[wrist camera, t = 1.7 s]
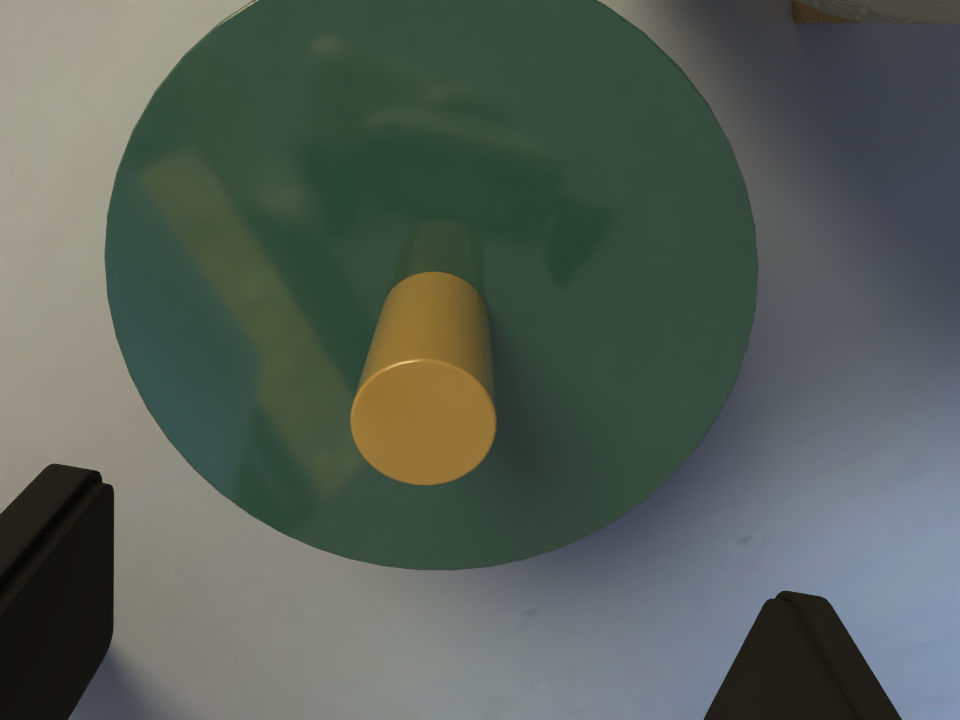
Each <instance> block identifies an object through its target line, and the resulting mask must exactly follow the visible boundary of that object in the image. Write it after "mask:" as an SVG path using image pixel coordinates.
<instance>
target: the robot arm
mask: <svg viewBox="0 0 960 720" xmlns="http://www.w3.org/2000/svg"><path fill="white" fill-rule="evenodd" d="M113 609H114V490H113V487H112V485H110V484H105V483H102V477H101V475H100V472H98V471H95V470H89V469H83V468H78V467H72V466H66V465H60V464H51V465H49V466H47V467H46V468H45V469H44V470H43V471H42V472H41V473H40V474H39V475H38V476H37V477H36V478H35V479H34V480H33V481H32V482H31V483H30V484H29V485H28V486H27V487H26V488H25V489H24V490H23V491H22V492H21V494H20V495H19V496H18V497H17V498H16V499H15V500H14V501H13V502H12V503H11V504H10V505H9V506H8V507H7V508H6V509H5V510H4V511H3V512H2V513H1V514H0V720H68V719H69V717H70V715H71V714H72V712H73V710H74V709H75V707H76V705H77V703H78V702H79V700H80V698H81V697H82V695H83V693H84V691H85V690H86V688H87V686H88V685H89V683H90V681H91V679H92V678H93V676H94V674H95V673H96V671H97V669H98V667H99V666H100V664H101V662H102V661H103V659H104V657H105V655H106V653H107V651H108V648H109V646H110V642H111V639H112V635H113ZM704 720H902V719H901V717H900V716H899V714H898V713H897V711H896V709H895V708H894V706H893V704H892V703H891V701H890V700H889V698H888V696H887V695H886V693H885V691H884V690H883V688H882V687H881V685H880V683H879V682H878V680H877V678H876V677H875V675H874V674H873V672H872V670H871V669H870V667H869V665H868V664H867V662H866V661H865V659H864V657H863V656H862V654H861V652H860V651H859V649H858V648H857V646H856V644H855V643H854V641H853V640H852V638H851V636H850V635H849V633H848V631H847V630H846V628H845V627H844V625H843V623H842V622H841V620H840V618H839V617H838V615H837V614H836V612H835V610H834V609H833V607H832V605H831V604H830V603H829V602H828V601H827V600H826V599H825V598H823V597H820V596H814V595H808V594H803V593H797V592H791V591H782V592H780V593H779V594H778V595H777V596H776V597H775V599H769V600H767V601H766V602H765V604H764V605H763V607H762V609H761V611H760V613H759V615H758V616H757V618H756V620H755V622H754V624H753V626H752V628H751V630H750V632H749V634H748V636H747V637H746V639H745V641H744V643H743V645H742V647H741V649H740V651H739V653H738V655H737V656H736V658H735V660H734V662H733V664H732V666H731V668H730V670H729V672H728V674H727V675H726V677H725V679H724V681H723V683H722V685H721V687H720V689H719V691H718V693H717V694H716V696H715V698H714V700H713V702H712V704H711V706H710V708H709V710H708V712H707V714H706V715H705V717H704Z"/></svg>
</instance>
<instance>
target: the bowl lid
mask: <svg viewBox="0 0 960 720" xmlns="http://www.w3.org/2000/svg"><path fill="white" fill-rule="evenodd" d="M105 269H106V283H107V296H108V302H109V306H110V311H111V316H112V320H113V325H114V329H115V334H116V338H117V341H118V344H119V346H120V349H121V352H122V355H123V357H124V360H125V363H126V366H127V368H128V371H129V374H130V376H131V378H132V380H133V382H134V384H135V386H136V388H137V390H138V392H139V393H140V395H141V397H142V399H143V401H144V403H145V405H146V407H147V409H148V410H149V412H150V413H151V415H152V416H153V418H154V419H155V421H156V422H157V424H158V425H159V427H160V428H161V430H162V431H163V432H164V434H165V435H166V437H167V438H168V440H169V441H170V442H171V443H172V444H173V446H174V447H175V448H176V449H177V450H178V451H179V452H180V454H181V455H182V456H183V457H184V458H185V459H186V461H187V462H188V463H189V464H190V465H191V466H192V467H193V469H195V470H196V471H197V472H198V473H199V474H200V475H201V476H202V477H203V478H204V479H205V480H207V481H208V482H209V483H210V484H211V485H212V486H213V487H214V488H215V489H216V490H218V491H219V492H220V493H221V494H222V495H224V496H225V497H226V498H228V499H229V500H230V501H232V502H233V503H235V504H236V505H237V506H239V507H240V508H241V509H243V510H244V511H246V512H247V513H248V514H250V515H251V516H253V517H255V518H256V519H258V520H260V521H262V522H263V523H265V524H267V525H269V526H270V527H272V528H274V529H276V530H277V531H279V532H281V533H283V534H285V535H287V536H289V537H292V538H294V539H296V540H299V541H301V542H303V543H305V544H308V545H310V546H312V547H314V548H317V549H320V550H323V551H327V552H330V553H333V554H336V555H339V556H342V557H345V558H348V559H353V560H357V561H362V562H367V563H371V564H376V565H381V566H387V567H396V568H405V569H415V570H461V569H472V568H482V567H491V566H496V565H501V564H506V563H511V562H516V561H521V560H525V559H528V558H531V557H534V556H538V555H541V554H544V553H547V552H551V551H554V550H557V549H559V548H561V547H564V546H566V545H568V544H571V543H573V542H575V541H578V540H580V539H582V538H585V537H587V536H589V535H591V534H593V533H594V532H596V531H598V530H600V529H601V528H603V527H605V526H607V525H609V524H610V523H612V522H614V521H616V520H617V519H619V518H621V517H622V516H623V515H625V514H626V513H627V512H629V511H630V510H632V509H633V508H634V507H636V506H637V505H639V504H640V503H641V502H643V501H644V500H645V499H647V498H648V497H649V496H650V495H651V494H653V493H654V492H655V491H656V490H657V489H658V488H659V487H660V486H661V485H662V484H663V483H665V482H666V481H667V480H668V479H669V478H670V477H671V476H672V475H673V474H674V473H675V472H676V471H677V470H678V469H679V468H680V466H681V465H682V464H683V463H684V462H685V461H686V459H687V458H688V457H689V456H690V455H691V454H692V453H693V451H694V450H695V449H696V448H697V447H698V445H699V444H700V442H701V441H702V439H703V438H704V436H705V435H706V433H707V432H708V430H709V429H710V427H711V426H712V425H713V423H714V422H715V420H716V419H717V417H718V415H719V413H720V411H721V409H722V407H723V405H724V403H725V401H726V400H727V398H728V396H729V394H730V392H731V390H732V388H733V386H734V384H735V381H736V378H737V375H738V373H739V370H740V367H741V364H742V361H743V358H744V355H745V352H746V350H747V347H748V342H749V337H750V332H751V327H752V322H753V318H754V313H755V307H756V292H757V277H758V260H757V247H756V233H755V224H754V220H753V215H752V211H751V206H750V202H749V197H748V193H747V188H746V184H745V182H744V179H743V176H742V174H741V171H740V168H739V166H738V163H737V160H736V158H735V155H734V152H733V150H732V147H731V145H730V143H729V141H728V139H727V137H726V135H725V134H724V132H723V130H722V128H721V126H720V125H719V123H718V121H717V119H716V117H715V116H714V114H713V112H712V110H711V108H710V107H709V105H708V103H707V102H706V101H705V99H704V98H703V97H702V95H701V94H700V93H699V92H698V90H697V89H696V88H695V86H694V85H693V84H692V82H691V81H690V80H689V78H688V77H687V76H686V75H685V73H684V72H683V71H682V69H681V68H680V67H679V66H678V65H677V64H676V63H675V62H674V61H673V60H672V59H671V58H670V57H669V56H668V55H667V54H666V53H665V52H664V51H663V50H662V49H661V48H660V47H659V46H658V45H657V44H655V43H654V42H653V41H652V40H651V39H650V38H649V37H648V36H647V35H646V34H645V33H644V32H642V31H641V30H640V29H638V28H637V27H635V26H634V25H633V24H631V23H630V22H628V21H627V20H626V19H624V18H623V17H622V16H620V15H619V14H617V13H616V12H615V11H613V10H612V9H610V8H609V7H608V6H606V5H605V4H603V3H601V2H599V1H597V0H253V1H251V2H250V3H248V4H247V5H245V6H244V7H242V8H241V9H239V10H238V11H236V12H235V13H233V14H232V15H230V16H229V17H227V18H226V19H224V20H223V21H221V22H220V23H219V24H218V25H216V26H215V27H214V28H213V29H212V30H211V31H210V32H209V33H208V34H207V35H205V36H204V37H203V38H202V39H201V40H200V41H199V42H198V43H197V44H196V45H194V46H193V47H192V48H191V49H190V50H189V51H188V52H187V53H186V54H185V55H184V56H183V57H182V58H181V60H180V61H179V62H178V63H177V65H176V66H175V67H174V68H173V70H172V71H171V72H170V73H169V75H168V76H167V77H166V78H165V80H164V81H163V82H162V83H161V85H160V86H159V87H158V88H157V89H156V91H155V92H154V94H153V96H152V98H151V99H150V101H149V103H148V105H147V106H146V108H145V110H144V112H143V113H142V115H141V117H140V119H139V120H138V122H137V124H136V125H135V127H134V129H133V131H132V133H131V136H130V139H129V141H128V144H127V146H126V149H125V152H124V154H123V157H122V159H121V162H120V165H119V167H118V170H117V173H116V177H115V182H114V187H113V191H112V196H111V200H110V205H109V209H108V214H107V228H106V243H105Z"/></svg>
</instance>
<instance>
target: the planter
mask: <svg viewBox="0 0 960 720" xmlns="http://www.w3.org/2000/svg"><path fill="white" fill-rule="evenodd" d="M792 2H793V16H794V22H795V23H845V22H865V23H890V24H960V0H792Z"/></svg>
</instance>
